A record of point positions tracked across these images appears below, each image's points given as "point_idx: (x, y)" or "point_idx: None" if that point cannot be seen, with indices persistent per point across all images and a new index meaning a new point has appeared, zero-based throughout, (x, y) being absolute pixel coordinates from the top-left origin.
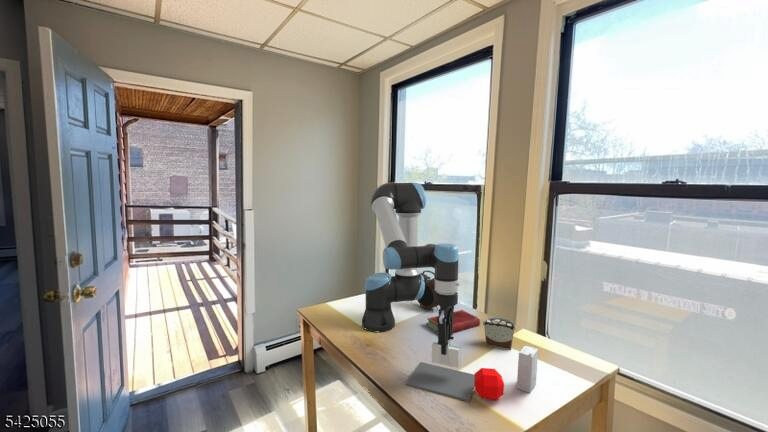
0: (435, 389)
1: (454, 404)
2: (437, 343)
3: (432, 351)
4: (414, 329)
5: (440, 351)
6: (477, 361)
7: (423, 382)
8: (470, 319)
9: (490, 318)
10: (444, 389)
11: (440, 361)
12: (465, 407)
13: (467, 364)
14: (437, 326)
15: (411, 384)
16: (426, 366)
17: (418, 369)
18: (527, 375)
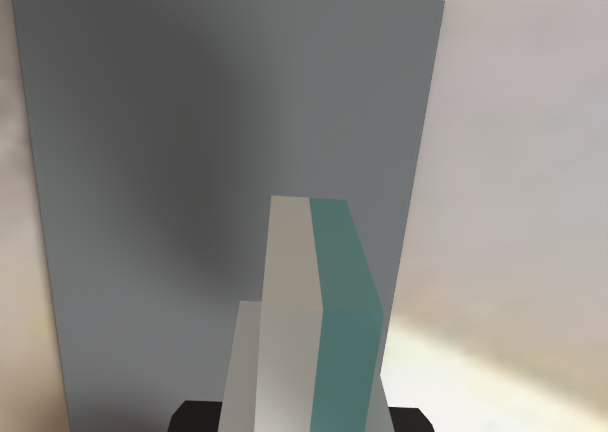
0: (61, 236)
1: (3, 361)
2: (347, 378)
3: (266, 260)
4: None
5: (225, 395)
6: (568, 422)
7: (104, 123)
8: None
9: None
10: (97, 294)
11: (239, 311)
12: (14, 415)
13: (513, 372)
14: None
15: (16, 22)
16: (373, 86)
17: (294, 19)
18: None
